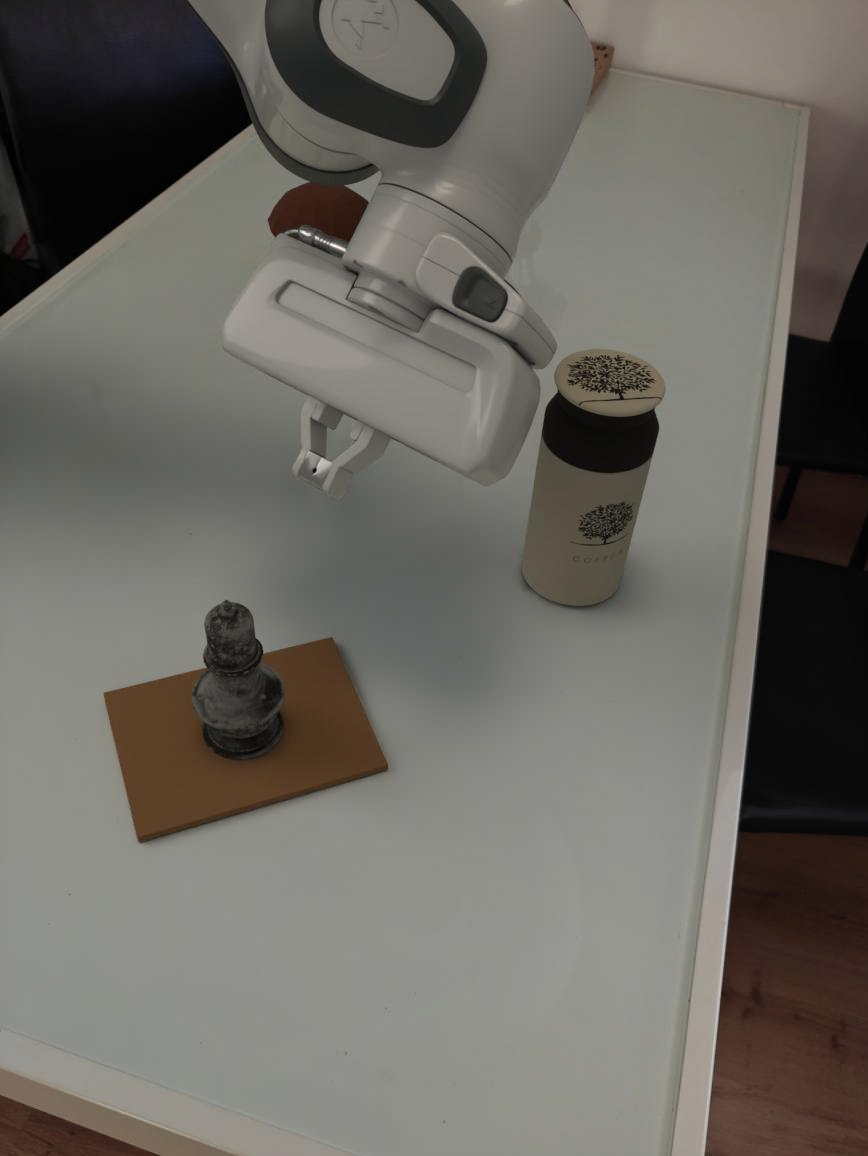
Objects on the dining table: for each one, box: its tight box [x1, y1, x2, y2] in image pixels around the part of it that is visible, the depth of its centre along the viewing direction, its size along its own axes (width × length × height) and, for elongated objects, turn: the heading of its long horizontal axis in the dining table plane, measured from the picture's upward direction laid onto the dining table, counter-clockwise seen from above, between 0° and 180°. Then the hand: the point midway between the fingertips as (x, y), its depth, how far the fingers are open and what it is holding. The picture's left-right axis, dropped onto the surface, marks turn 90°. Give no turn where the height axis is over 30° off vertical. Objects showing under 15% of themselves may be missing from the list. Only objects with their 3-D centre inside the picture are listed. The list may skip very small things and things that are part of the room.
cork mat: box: [103, 636, 389, 843], centre depth 68 cm, size 16×12×1 cm
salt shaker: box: [191, 599, 286, 760], centre depth 64 cm, size 6×6×12 cm
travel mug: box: [520, 348, 666, 607], centre depth 75 cm, size 8×8×18 cm
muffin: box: [266, 181, 370, 252], centre depth 105 cm, size 12×11×10 cm
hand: (315, 487), depth 61 cm, fingers closed
